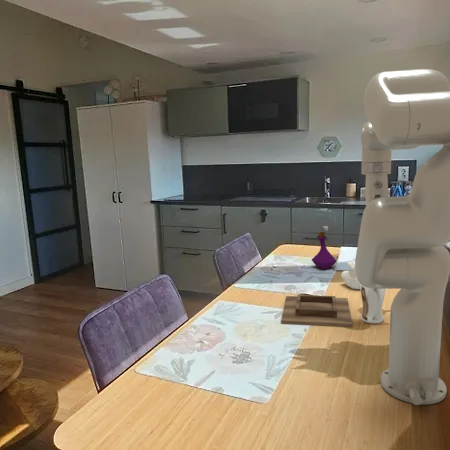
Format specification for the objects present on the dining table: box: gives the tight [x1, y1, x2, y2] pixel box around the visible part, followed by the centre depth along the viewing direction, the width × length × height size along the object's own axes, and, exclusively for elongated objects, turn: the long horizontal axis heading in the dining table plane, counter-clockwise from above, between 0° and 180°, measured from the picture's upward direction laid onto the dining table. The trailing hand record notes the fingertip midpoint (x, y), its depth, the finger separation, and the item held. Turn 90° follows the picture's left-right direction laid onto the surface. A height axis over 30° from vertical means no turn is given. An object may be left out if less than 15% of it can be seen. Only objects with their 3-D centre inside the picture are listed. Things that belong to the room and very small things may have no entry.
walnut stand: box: [280, 294, 353, 328], centre depth 126 cm, size 20×20×3 cm
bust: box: [340, 260, 360, 290], centre depth 144 cm, size 12×8×11 cm
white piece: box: [359, 283, 386, 325], centre depth 118 cm, size 7×7×15 cm
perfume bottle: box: [311, 225, 337, 270], centre depth 169 cm, size 8×8×18 cm
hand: (374, 229), depth 114 cm, fingers open, 9 cm apart
